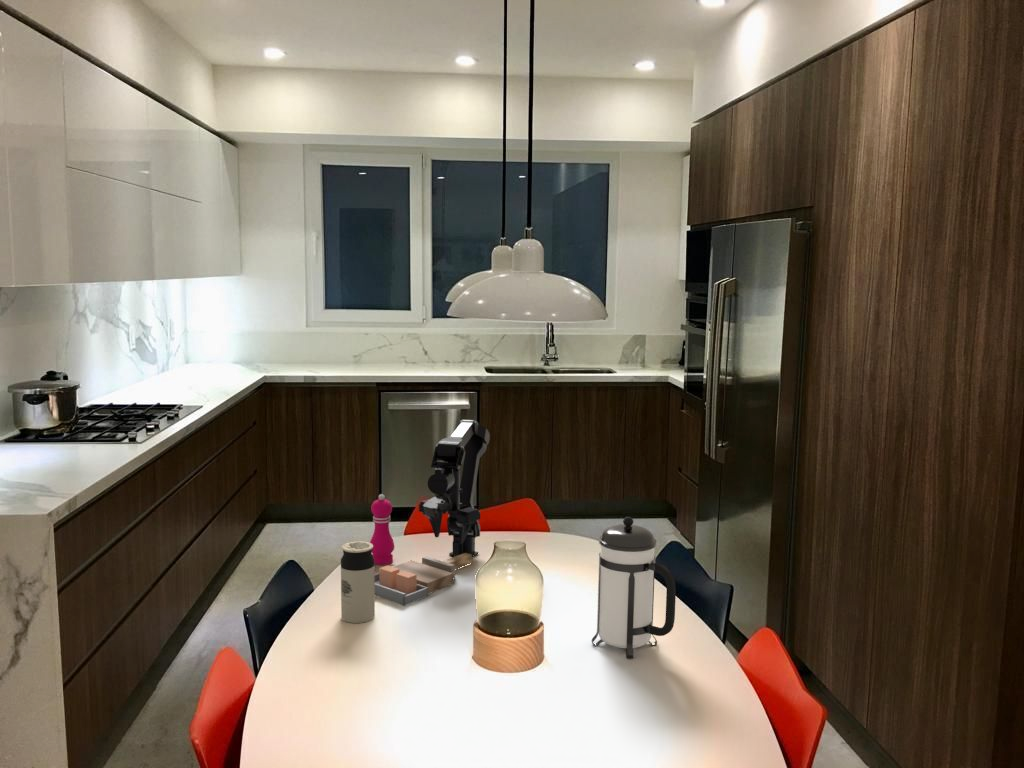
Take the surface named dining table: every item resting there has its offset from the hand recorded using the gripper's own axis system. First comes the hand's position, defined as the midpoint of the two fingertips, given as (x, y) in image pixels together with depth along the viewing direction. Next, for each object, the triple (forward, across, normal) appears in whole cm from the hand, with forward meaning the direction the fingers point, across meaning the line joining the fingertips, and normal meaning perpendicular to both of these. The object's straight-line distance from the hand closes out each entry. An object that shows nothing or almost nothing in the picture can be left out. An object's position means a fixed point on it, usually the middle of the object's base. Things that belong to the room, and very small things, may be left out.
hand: (449, 540), depth 244 cm
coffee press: (+9, +65, -10) cm, 66 cm away
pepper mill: (+9, -20, -7) cm, 23 cm away
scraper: (+9, 0, +2) cm, 9 cm away
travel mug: (+9, +6, -39) cm, 40 cm away
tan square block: (+6, -3, -18) cm, 19 cm away
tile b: (+6, +3, -18) cm, 19 cm away
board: (+9, 0, -12) cm, 15 cm away
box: (+9, 0, -22) cm, 23 cm away
